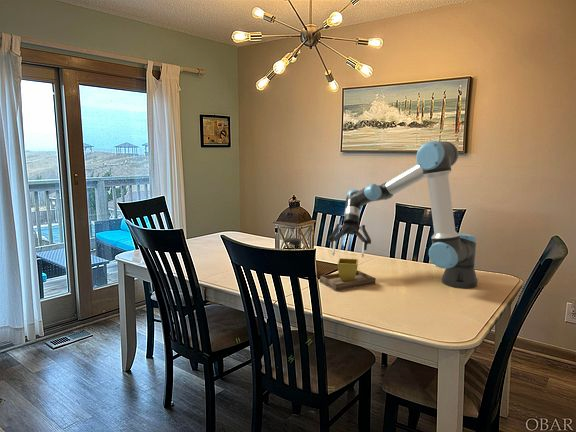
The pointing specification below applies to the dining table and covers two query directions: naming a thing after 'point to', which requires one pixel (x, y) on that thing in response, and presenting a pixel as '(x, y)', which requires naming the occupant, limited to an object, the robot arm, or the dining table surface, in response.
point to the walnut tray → (337, 284)
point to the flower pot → (347, 269)
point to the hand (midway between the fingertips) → (347, 254)
